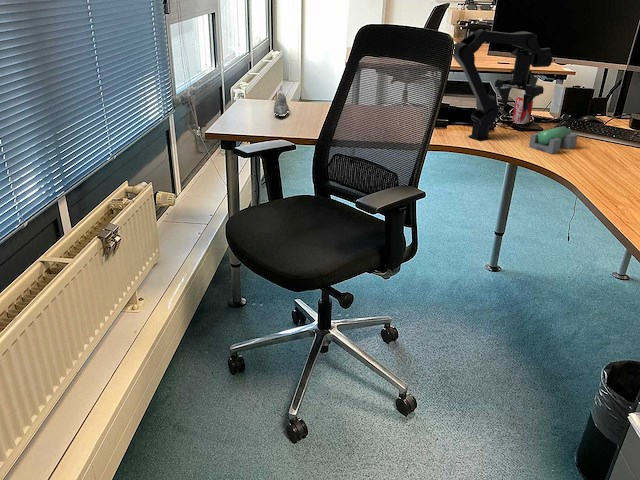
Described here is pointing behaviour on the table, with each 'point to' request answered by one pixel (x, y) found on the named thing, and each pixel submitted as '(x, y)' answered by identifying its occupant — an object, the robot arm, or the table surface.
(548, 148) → the u rest
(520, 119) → the soda can
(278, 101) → the mineral rock
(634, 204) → the table surface
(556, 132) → the bottle
